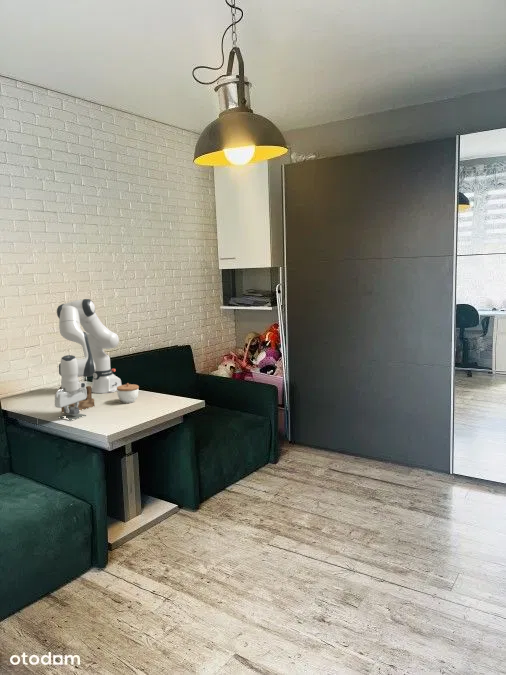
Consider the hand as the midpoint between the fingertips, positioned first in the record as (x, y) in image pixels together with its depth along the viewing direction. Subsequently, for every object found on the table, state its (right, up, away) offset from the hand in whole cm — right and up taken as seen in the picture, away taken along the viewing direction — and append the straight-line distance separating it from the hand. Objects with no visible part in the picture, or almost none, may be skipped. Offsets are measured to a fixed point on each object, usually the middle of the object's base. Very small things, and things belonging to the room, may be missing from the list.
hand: (71, 411), depth 265 cm
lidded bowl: (+22, +1, +31) cm, 38 cm away
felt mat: (0, -3, 0) cm, 3 cm away
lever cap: (0, -1, 0) cm, 1 cm away
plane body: (-2, -1, +15) cm, 15 cm away
